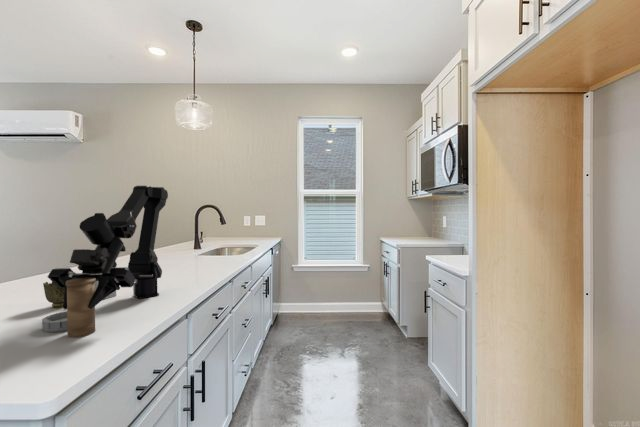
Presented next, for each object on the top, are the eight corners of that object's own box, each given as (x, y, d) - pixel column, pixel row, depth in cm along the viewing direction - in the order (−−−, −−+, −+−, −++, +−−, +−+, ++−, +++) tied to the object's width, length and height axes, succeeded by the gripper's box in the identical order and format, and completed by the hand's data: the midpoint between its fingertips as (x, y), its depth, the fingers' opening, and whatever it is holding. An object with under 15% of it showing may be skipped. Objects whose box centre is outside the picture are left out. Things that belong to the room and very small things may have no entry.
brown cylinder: (94, 326, 80) (93, 276, 80) (98, 333, 76) (97, 280, 76) (65, 332, 76) (64, 279, 76) (67, 340, 72) (66, 284, 72)
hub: (84, 316, 88) (84, 308, 87) (89, 325, 81) (89, 316, 81) (41, 325, 81) (41, 315, 81) (43, 335, 75) (42, 325, 75)
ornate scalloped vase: (56, 311, 92) (56, 284, 92) (37, 309, 94) (36, 283, 93) (80, 303, 99) (80, 278, 99) (62, 302, 101) (61, 277, 101)
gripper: (52, 236, 79) (13, 291, 68) (128, 236, 80) (102, 290, 70) (75, 262, 87) (43, 315, 76) (144, 261, 88) (122, 313, 78)
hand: (77, 308), depth 75 cm, fingers closed on brown cylinder, 5 cm apart
